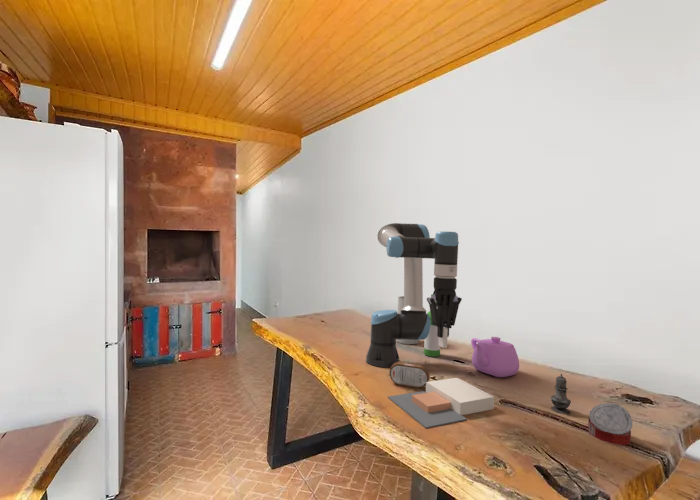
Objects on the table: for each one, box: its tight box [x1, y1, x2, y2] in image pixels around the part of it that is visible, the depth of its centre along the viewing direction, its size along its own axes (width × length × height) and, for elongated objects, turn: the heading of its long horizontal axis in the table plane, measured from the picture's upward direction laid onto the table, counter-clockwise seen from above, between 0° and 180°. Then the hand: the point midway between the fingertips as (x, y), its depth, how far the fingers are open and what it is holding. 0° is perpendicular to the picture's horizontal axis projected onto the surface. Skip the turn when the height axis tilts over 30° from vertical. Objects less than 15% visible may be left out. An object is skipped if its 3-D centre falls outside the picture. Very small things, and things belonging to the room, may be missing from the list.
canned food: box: [587, 402, 634, 446], centre depth 99 cm, size 11×10×10 cm
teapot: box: [470, 336, 520, 378], centre depth 150 cm, size 23×21×15 cm
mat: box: [387, 390, 468, 429], centre depth 112 cm, size 22×15×1 cm
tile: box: [412, 392, 451, 413], centre depth 114 cm, size 9×9×2 cm
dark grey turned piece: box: [550, 373, 572, 415], centre depth 115 cm, size 6×6×12 cm
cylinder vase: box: [396, 295, 420, 345], centre depth 196 cm, size 12×12×25 cm
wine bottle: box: [423, 293, 441, 358], centre depth 172 cm, size 8×8×30 cm
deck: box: [425, 377, 495, 416], centre depth 119 cm, size 18×14×4 cm
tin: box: [389, 361, 431, 389], centre depth 131 cm, size 15×3×8 cm, turn 71°
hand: (442, 346), depth 117 cm, fingers closed
